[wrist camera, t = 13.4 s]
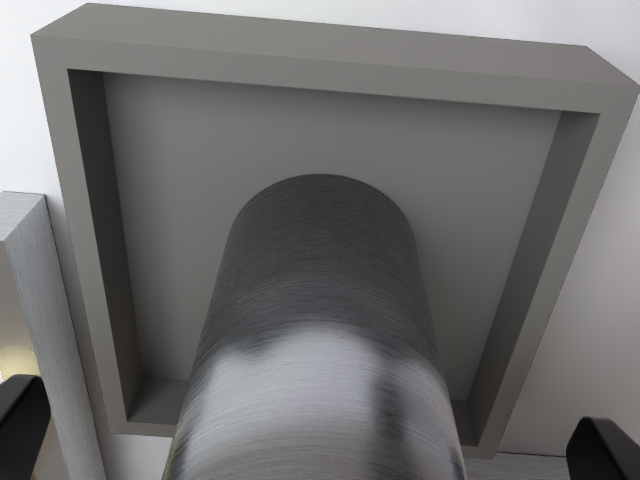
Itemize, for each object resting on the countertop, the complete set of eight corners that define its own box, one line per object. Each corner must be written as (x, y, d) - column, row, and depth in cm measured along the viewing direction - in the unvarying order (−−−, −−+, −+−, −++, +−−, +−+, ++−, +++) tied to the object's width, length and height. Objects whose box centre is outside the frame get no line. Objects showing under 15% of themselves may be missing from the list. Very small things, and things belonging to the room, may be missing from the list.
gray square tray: (586, 46, 11) (642, 87, 9) (473, 386, 17) (492, 459, 15) (87, 2, 11) (29, 34, 9) (137, 362, 17) (109, 432, 15)
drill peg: (431, 181, 12) (655, 889, 4) (400, 333, 15) (493, 966, 6) (225, 166, 12) (-16, 863, 4) (227, 322, 14) (89, 952, 6)
